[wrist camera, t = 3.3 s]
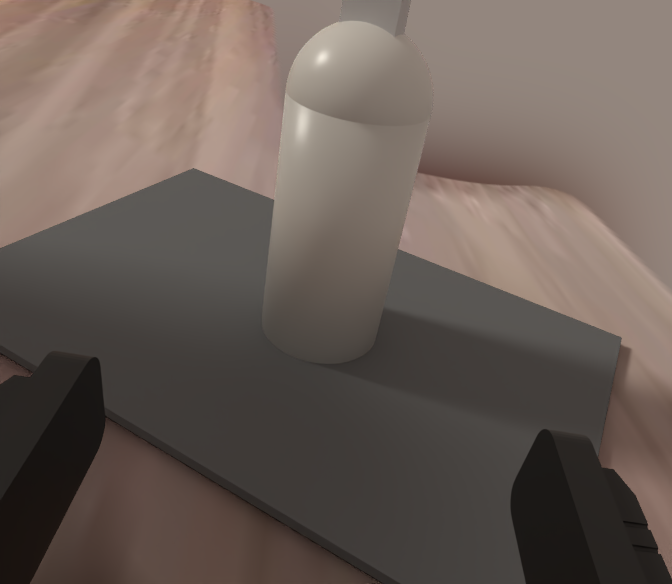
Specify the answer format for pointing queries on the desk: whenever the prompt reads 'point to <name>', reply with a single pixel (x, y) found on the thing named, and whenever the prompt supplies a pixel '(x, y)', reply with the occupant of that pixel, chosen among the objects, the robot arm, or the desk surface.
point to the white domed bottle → (344, 181)
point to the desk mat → (311, 379)
